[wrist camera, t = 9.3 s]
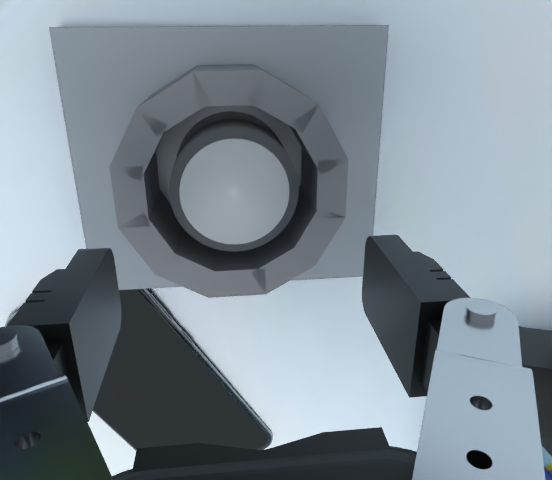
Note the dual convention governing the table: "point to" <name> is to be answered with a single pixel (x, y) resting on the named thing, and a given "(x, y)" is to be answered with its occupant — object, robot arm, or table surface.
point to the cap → (233, 182)
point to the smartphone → (169, 386)
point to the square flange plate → (204, 102)
